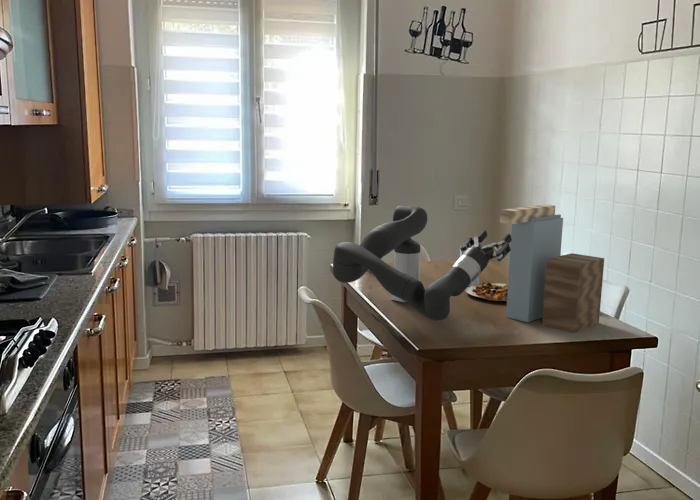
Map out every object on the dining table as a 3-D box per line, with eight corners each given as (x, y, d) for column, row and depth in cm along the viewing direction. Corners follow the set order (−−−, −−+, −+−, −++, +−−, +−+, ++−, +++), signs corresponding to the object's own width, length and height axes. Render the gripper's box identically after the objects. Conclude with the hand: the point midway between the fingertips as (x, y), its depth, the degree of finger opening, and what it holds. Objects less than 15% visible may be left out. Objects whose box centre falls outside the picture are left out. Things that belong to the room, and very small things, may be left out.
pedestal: (527, 322, 222) (534, 219, 216) (506, 317, 227) (512, 216, 221) (556, 312, 234) (563, 214, 228) (535, 308, 240) (541, 212, 234)
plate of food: (543, 291, 266) (544, 275, 265) (543, 308, 239) (543, 290, 238) (469, 287, 273) (469, 272, 272) (461, 303, 247) (461, 287, 246)
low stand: (574, 332, 211) (580, 264, 208) (542, 324, 219) (546, 259, 215) (598, 322, 223) (604, 258, 219) (567, 315, 230) (571, 253, 227)
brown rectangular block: (511, 224, 210) (512, 211, 210) (499, 222, 213) (500, 209, 212) (554, 217, 228) (555, 205, 228) (543, 216, 231) (544, 204, 231)
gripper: (486, 260, 194) (515, 226, 203) (445, 252, 204) (474, 221, 213) (492, 280, 198) (521, 247, 206) (452, 272, 208) (480, 241, 216)
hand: (497, 234), depth 210 cm, fingers open, 8 cm apart
